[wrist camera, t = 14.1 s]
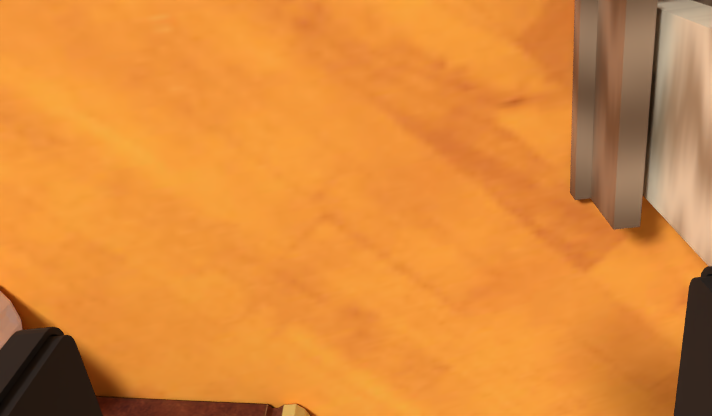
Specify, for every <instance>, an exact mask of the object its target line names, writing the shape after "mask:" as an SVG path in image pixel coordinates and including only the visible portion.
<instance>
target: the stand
mask: <svg viewBox="0 0 712 416" xmlns="http://www.w3.org/2000/svg"><path fill="white" fill-rule="evenodd" d="M657 1H658V0H575V20H574V61H573V101H572V141H571V182H570V193H571V195H572V196H573V198H574V199H575V200H578V199H588V198H591V200H592V201H593V202H594V204H595V205H596V207H597V208H598V209H599V211H600V212H601V213H602V215H603V216H604V217H605V219H606V220H607V221H608V223H609V224H610V225H611V227H612V228H613V229H623V228H633V227H640V221H641V208H642V195H643V182H644V169H645V156H646V144H647V131H648V118H649V105H650V92H651V79H652V66H653V53H654V40H655V27H656V14H657ZM692 1H696V2H699V3H702V4H705V5H708V6H711V7H712V0H692Z"/></svg>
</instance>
